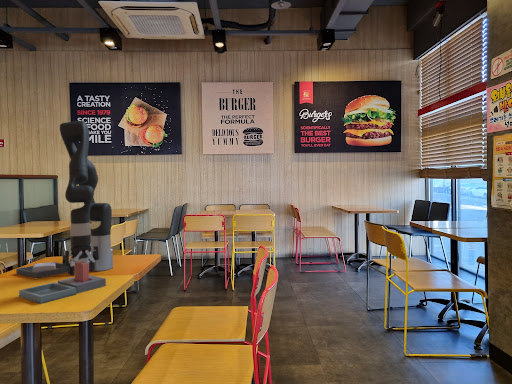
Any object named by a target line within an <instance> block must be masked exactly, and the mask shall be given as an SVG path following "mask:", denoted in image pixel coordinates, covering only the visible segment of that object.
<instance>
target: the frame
mask: <svg viewBox="0 0 512 384" xmlns="http://www.w3.org/2000/svg"><path fill="white" fill-rule="evenodd" d="M53 262H54V263H56V269H54V270H49V271H44V272H38V273H36V272H32V269H33V266H34V265H30V266H24V267H19V268H16V269H15V270H16V271H15V272H16V273H15V274H16V275H19V276H22V277H27V278H30V277H31V279H34V278H38V279H43V278H48V277H51V276H52V277H53V276H56V275H62V274H65V273H66V274H68V267H67V266H65V265H62V263H60V262H57V261H53ZM73 267H74V272H75V265H73ZM42 277H43V278H42Z"/></svg>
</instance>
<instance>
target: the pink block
mask: <svg viewBox="0 0 512 384" xmlns="http://www.w3.org/2000/svg"><path fill="white" fill-rule="evenodd" d="M74 266H75V271H74V277H75V281H79V282H86V281H89V275H90V273H89V272H90V271H89V266H88V263H85V262H75V263H74Z"/></svg>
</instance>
